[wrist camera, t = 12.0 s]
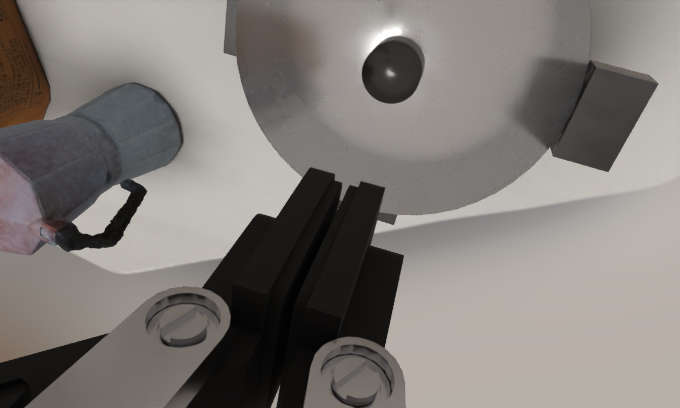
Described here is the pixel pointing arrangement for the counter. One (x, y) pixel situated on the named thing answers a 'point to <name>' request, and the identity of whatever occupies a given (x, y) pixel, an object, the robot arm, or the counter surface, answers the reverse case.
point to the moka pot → (81, 168)
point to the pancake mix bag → (19, 72)
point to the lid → (432, 92)
